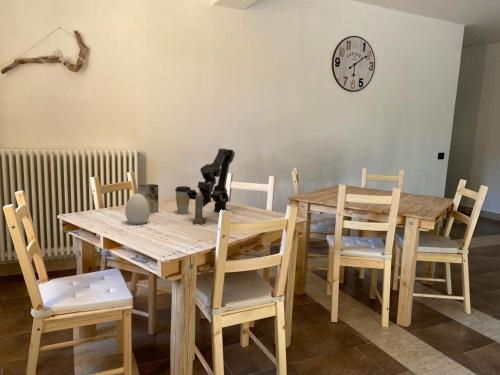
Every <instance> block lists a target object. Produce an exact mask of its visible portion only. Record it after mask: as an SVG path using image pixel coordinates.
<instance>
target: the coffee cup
mask: <svg viewBox="0 0 500 375" xmlns="http://www.w3.org/2000/svg"><path fill="white" fill-rule="evenodd" d="M188 190H192V188H191V186H177V187H175V191H174V192H175V200H176V201H175V202H176V207H177V209H176V210H177V213H178V214H181V215H183V214H184V215H185V214H188V213H189V205H190V200H191V199H190V198H189V196H188V194H187V191H188Z"/></svg>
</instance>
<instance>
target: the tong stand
mask: <svg viewBox="0 0 500 375" xmlns="http://www.w3.org/2000/svg"><path fill="white" fill-rule="evenodd" d="M194 201H195V203H194V206H195V209H194V215H195V216H194V218H192V225H196V224H199V225H198V226H203V225H204V224H206V223H207V221H208V220H207V218H208V217H203V216H202V218H201V205H202V196H196V199H195V200H194ZM205 222H206V223H205ZM203 223H204V224H203Z"/></svg>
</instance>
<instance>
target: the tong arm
mask: <svg viewBox="0 0 500 375" xmlns="http://www.w3.org/2000/svg"><path fill="white" fill-rule="evenodd" d="M197 196H202V205H201V218H202V217H203V208H204V207H203V198H204V197H203V195H201V194H197Z"/></svg>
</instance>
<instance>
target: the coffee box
mask: <svg viewBox="0 0 500 375" xmlns="http://www.w3.org/2000/svg"><path fill="white" fill-rule="evenodd" d="M138 194H141V195H143V196H144V197H145V198H146V199H147V201H148V203H149V206H150V214H153V213H158V212H159V184H156V183H155V184H154V183H147V184H139V185H138Z"/></svg>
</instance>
